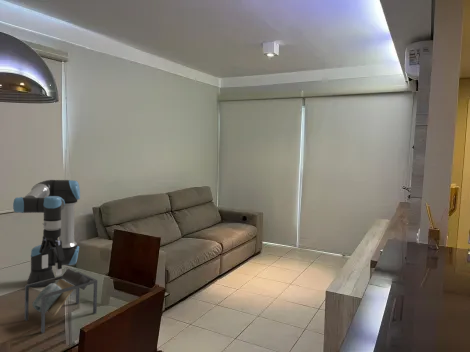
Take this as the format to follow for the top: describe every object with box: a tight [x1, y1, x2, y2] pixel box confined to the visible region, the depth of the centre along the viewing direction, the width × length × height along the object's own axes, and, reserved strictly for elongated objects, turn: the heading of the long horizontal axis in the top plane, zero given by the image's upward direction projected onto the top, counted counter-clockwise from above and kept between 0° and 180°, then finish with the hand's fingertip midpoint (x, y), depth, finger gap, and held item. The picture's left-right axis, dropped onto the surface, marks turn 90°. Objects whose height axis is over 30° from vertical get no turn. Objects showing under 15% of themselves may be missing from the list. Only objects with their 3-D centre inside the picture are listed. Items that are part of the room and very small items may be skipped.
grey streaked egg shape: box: [32, 282, 62, 313], centre depth 170 cm, size 14×10×10 cm
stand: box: [24, 271, 98, 334], centre depth 176 cm, size 27×18×18 cm, turn 143°
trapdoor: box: [47, 268, 90, 316], centre depth 177 cm, size 21×14×6 cm
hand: (51, 271), depth 171 cm, fingers open, 13 cm apart
